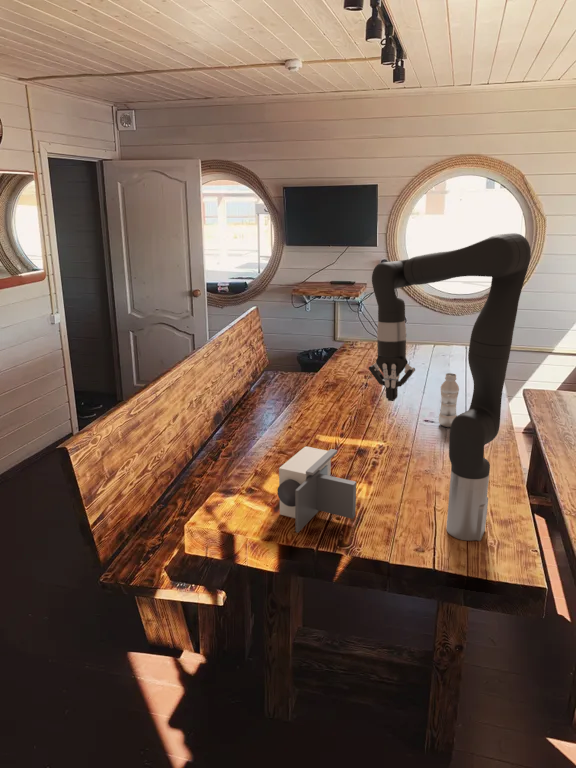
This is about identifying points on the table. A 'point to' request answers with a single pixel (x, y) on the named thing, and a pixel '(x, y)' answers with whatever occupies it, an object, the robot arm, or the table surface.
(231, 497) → the table surface
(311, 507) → the side door
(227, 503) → the table surface
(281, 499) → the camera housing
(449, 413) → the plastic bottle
